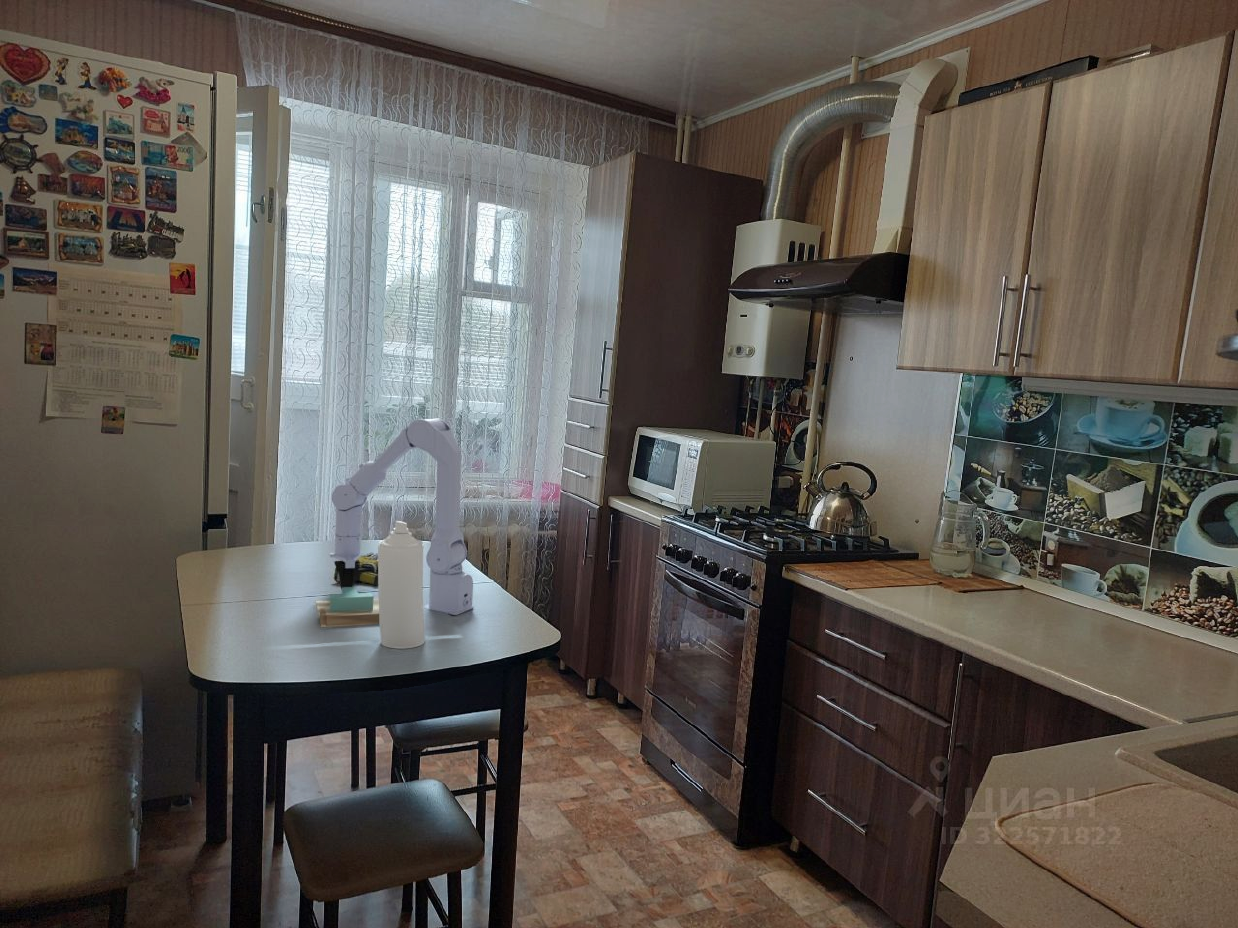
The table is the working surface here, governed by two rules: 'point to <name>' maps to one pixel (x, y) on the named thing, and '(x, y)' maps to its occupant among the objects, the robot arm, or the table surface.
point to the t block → (351, 600)
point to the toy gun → (365, 570)
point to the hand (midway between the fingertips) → (346, 591)
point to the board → (347, 615)
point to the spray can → (401, 589)
